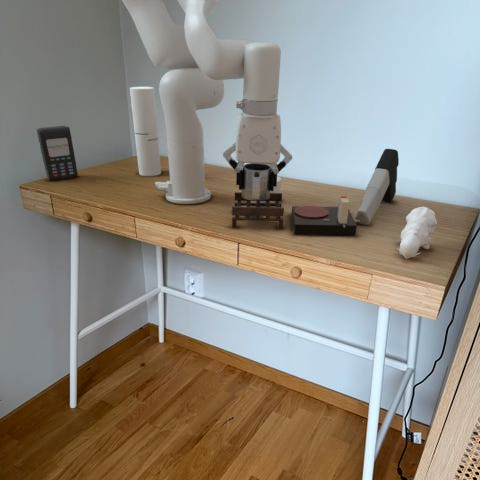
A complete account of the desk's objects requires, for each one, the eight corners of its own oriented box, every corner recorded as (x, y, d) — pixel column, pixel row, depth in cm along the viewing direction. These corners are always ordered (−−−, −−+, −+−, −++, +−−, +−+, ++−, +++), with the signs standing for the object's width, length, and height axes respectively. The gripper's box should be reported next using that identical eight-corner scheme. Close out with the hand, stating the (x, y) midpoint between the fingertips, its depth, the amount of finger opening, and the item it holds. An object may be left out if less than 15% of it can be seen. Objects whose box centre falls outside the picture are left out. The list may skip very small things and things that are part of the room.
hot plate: (295, 217, 108) (295, 216, 108) (293, 206, 115) (293, 205, 115) (331, 218, 108) (331, 217, 108) (326, 206, 115) (327, 205, 115)
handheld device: (397, 192, 127) (399, 147, 115) (370, 252, 119) (369, 211, 107) (383, 189, 129) (384, 145, 117) (355, 249, 121) (353, 208, 108)
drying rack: (232, 227, 110) (232, 207, 107) (234, 211, 120) (234, 191, 117) (282, 228, 109) (283, 208, 106) (281, 212, 119) (282, 192, 117)
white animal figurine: (441, 206, 96) (428, 229, 88) (433, 243, 102) (419, 268, 93) (411, 201, 99) (395, 223, 91) (404, 237, 104) (388, 261, 96)
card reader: (49, 182, 141) (38, 129, 133) (45, 179, 144) (34, 127, 136) (79, 177, 145) (70, 127, 137) (75, 174, 148) (66, 124, 140)
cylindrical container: (139, 170, 153) (130, 86, 140) (161, 170, 154) (154, 86, 141) (138, 176, 147) (128, 89, 134) (160, 175, 148) (153, 89, 135)
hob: (294, 236, 105) (295, 225, 104) (291, 215, 117) (291, 205, 116) (361, 238, 105) (363, 227, 103) (351, 216, 117) (352, 206, 115)
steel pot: (240, 202, 108) (241, 171, 104) (242, 189, 116) (243, 161, 112) (269, 203, 108) (272, 173, 104) (269, 190, 116) (271, 162, 112)
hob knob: (346, 223, 105) (349, 201, 102) (339, 223, 105) (342, 201, 102) (344, 217, 109) (346, 195, 106) (337, 217, 109) (339, 195, 106)
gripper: (219, 109, 98) (218, 192, 108) (300, 112, 98) (293, 195, 108) (221, 104, 104) (221, 182, 114) (298, 106, 104) (291, 185, 114)
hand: (256, 188), depth 111 cm, fingers closed on steel pot, 6 cm apart
